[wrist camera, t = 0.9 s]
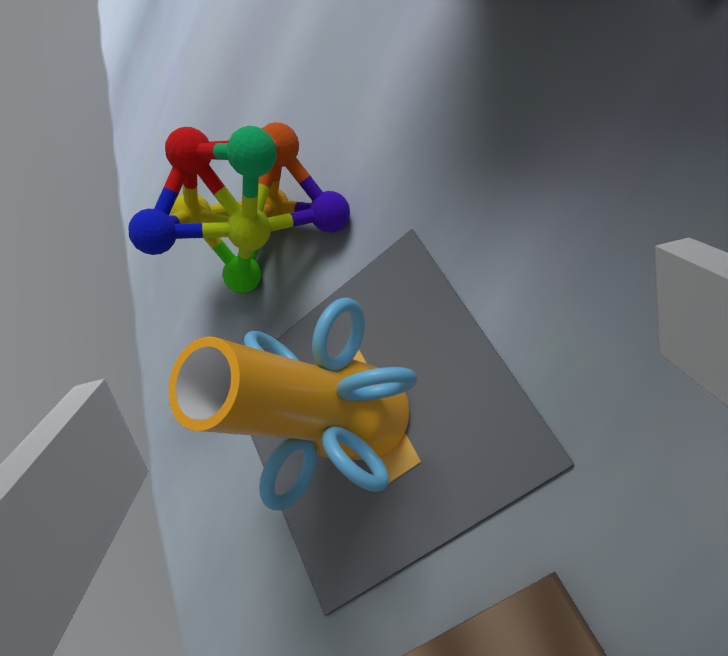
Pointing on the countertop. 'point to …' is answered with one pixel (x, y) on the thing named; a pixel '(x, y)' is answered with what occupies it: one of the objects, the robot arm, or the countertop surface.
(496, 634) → the board
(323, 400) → the cylinder
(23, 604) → the robot arm
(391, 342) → the mat
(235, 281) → the molecular model
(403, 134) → the countertop surface
